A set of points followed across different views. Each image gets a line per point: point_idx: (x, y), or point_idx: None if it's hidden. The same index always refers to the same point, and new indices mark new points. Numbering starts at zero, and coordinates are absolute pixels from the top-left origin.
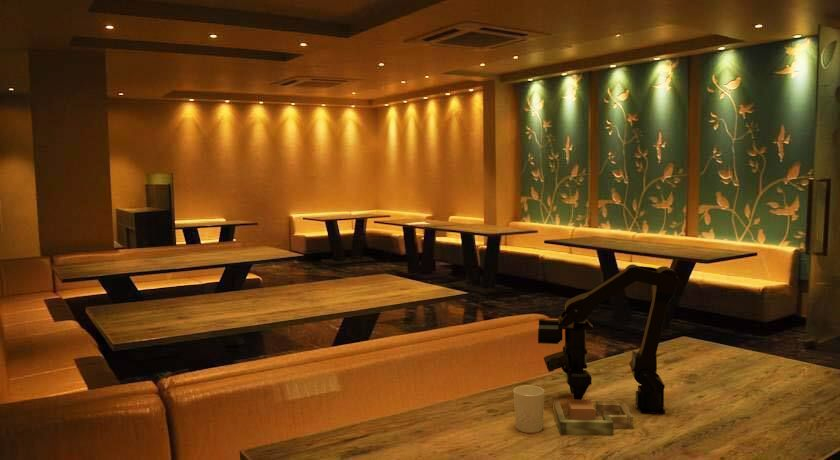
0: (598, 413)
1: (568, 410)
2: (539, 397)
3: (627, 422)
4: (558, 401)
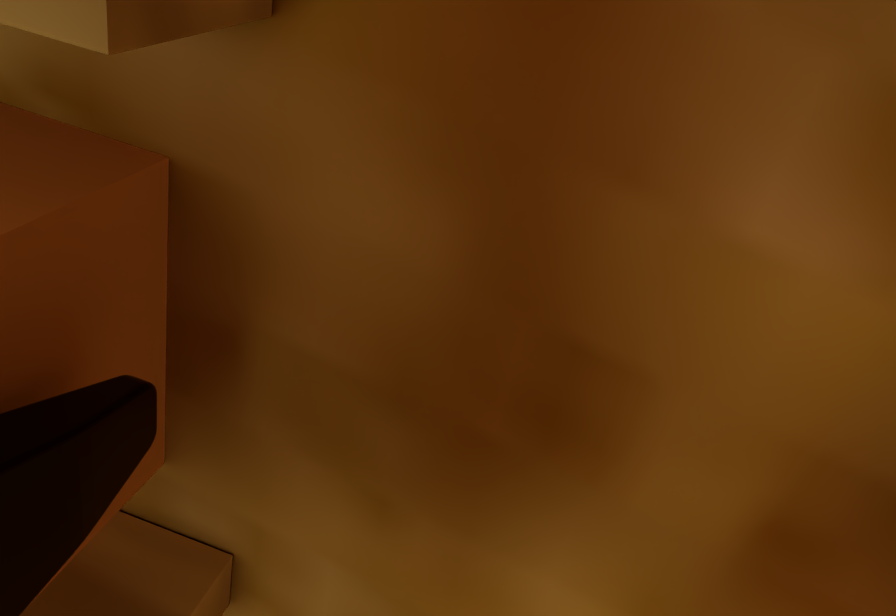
0: None
1: (33, 158)
2: None
3: None
4: (39, 13)
